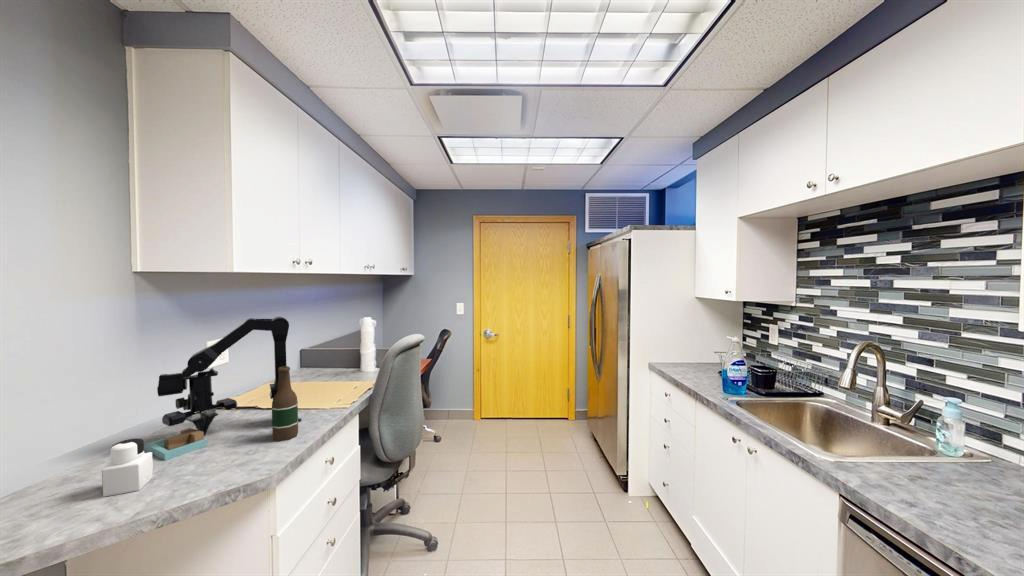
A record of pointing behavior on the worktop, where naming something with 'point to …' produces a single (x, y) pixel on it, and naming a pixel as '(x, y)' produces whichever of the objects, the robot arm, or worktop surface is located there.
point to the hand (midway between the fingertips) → (202, 436)
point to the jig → (168, 454)
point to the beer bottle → (284, 408)
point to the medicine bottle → (127, 468)
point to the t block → (183, 438)
